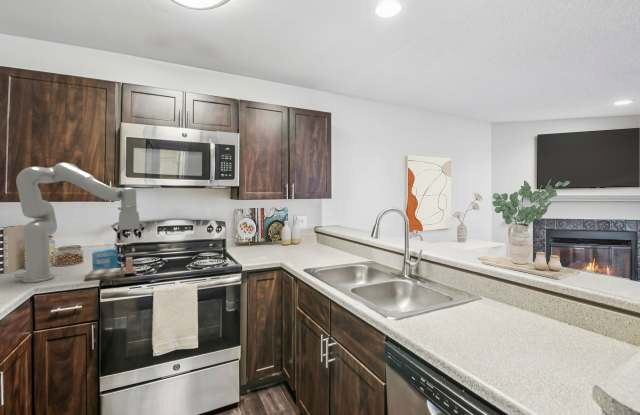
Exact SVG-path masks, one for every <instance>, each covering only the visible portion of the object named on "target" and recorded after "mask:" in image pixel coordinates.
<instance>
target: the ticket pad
mask: <svg viewBox="0 0 640 415" xmlns="http://www.w3.org/2000/svg"><path fill="white" fill-rule="evenodd" d="M125 277H126V276H125V274H123V267H117V268H113V269H102V270H93V269H92V270H88V271H87V273H86V275H85V276H84V280H83V281H84V282H92V281H100V280H101V281H102V280H110V279H119V278H125Z"/></svg>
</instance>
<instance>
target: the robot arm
mask: <svg viewBox="0 0 640 415" xmlns="http://www.w3.org/2000/svg"><path fill="white" fill-rule="evenodd" d="M63 181H64V182H65V181H66V182H69V183H71V184H73V185H75V186H77V187H79V188H81V189H83V190H85V191H87V192H88V193H90V194H92V195H94V196H96V197H99V198H100V199H102V200H105V201H108V202H111V201H120V207H117V209H118V210H119V213H118V221H117V222H115V223H113V224H111V225H110V226H111V229H113V231H114V232H115V233H117V236H116V237H117V239H118V241H121V231H122V230H123V231H124V230H138V232H137V233H138V238H137V239H141V238H142V232H143V231H144V230H145V228H146V227H147V226H148V225H147V223H145V222H143V221H140V215H139V211H137V189H136V188H135V187H116V186H115V187H113V186H109V185H108V184H105V183H103V182H101V181H99V180H97V179H96V178H95V177H94V175H92V174H91V173H89V172H87V171H85V170H82V169H80V168H79V167H78V166H77V165H75V164H73V163H70V162H58V163H56V164H55V165H54V166H52V167H43V166H29V167H25V168H23V169H22V170H21V171H20V172H19V173H18V174H17V176H16V180H15V183H16V188H17V192H18V196H19V201H20V207H21V211H22V215H23V216H25V218H29V219H33V221H30V222H27V223H26V224H25V225H24V227H23V229H22V234H23V239H24V245H25V247H24V248H25V250H24V251H25V272H23V273H15V274H14V278H17V279H21V278H22V279H21V281H22V282H23V283H27V284H29V283H41V282H45V281H49V280H53V279H54V278H55V275H54V274H51V251H50V250H51V247H50V241H49V238H48V237H50V236H52V235H54V234H55V233H56V232H57V228H58V223H57V219H56V213H55V209H54V206H53V205H52V203H51V202H50V201H47V200H45V199H43V197H42V192H41V190H40V187H39V186H38V185H39V184H52V183H53V184H54V183H58V182H63ZM140 225H142V227H140ZM116 226H118V229H117V228H116Z"/></svg>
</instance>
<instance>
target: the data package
mask: <svg viewBox="0 0 640 415" xmlns="http://www.w3.org/2000/svg"><path fill="white" fill-rule="evenodd" d="M91 256H92V257H91V258H92V260H91V261H92V262H91V264H92V270H102V269H113V268H119V264H118V263H119V261H118V260H119V257H118V256H119V253H118V250H117V249H114V248H109V249H102V250H101V249H100V250H93V252H92V254H91Z"/></svg>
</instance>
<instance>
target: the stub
mask: <svg viewBox="0 0 640 415" xmlns="http://www.w3.org/2000/svg"><path fill="white" fill-rule="evenodd" d="M122 268H123V274H135V273H136V266H133V257H132V256H129V257H125V266H124V267H122Z"/></svg>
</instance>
